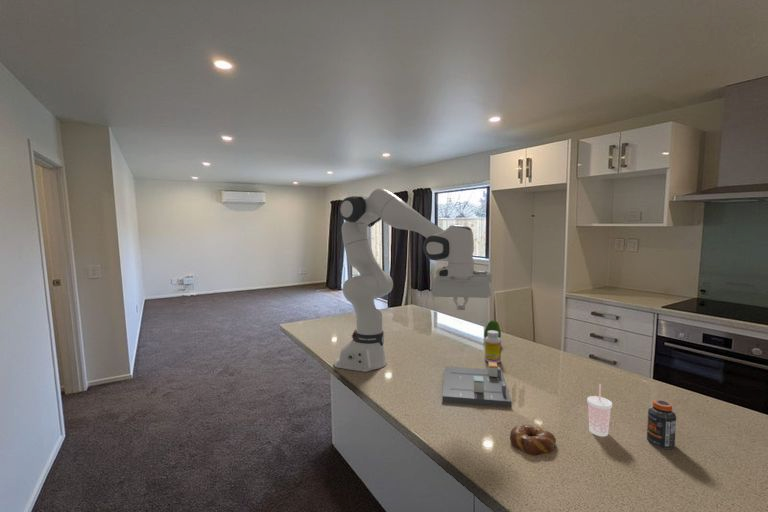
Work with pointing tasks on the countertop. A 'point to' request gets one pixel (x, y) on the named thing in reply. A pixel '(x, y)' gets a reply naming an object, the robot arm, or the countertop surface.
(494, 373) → the fader
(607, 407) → the beverage cup
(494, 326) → the avocado
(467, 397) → the console
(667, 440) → the pill bottle
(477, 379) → the fader
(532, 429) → the pretzel
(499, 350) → the supplement bottle
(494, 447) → the countertop surface
